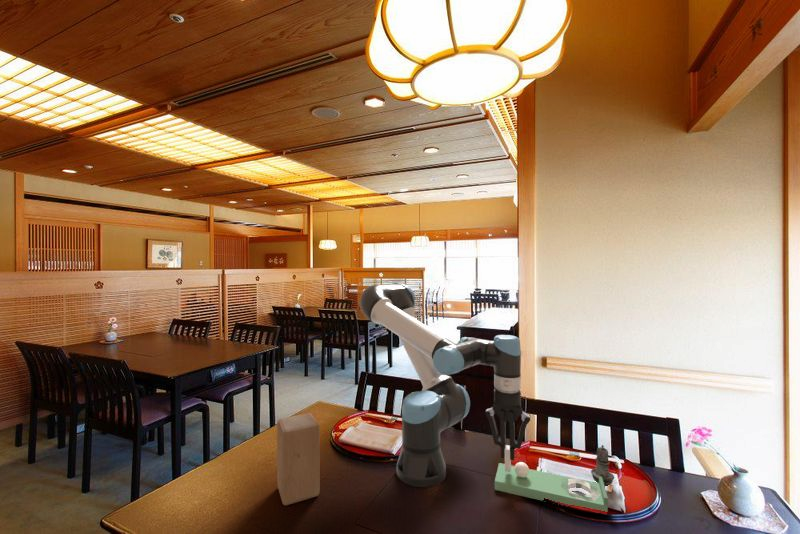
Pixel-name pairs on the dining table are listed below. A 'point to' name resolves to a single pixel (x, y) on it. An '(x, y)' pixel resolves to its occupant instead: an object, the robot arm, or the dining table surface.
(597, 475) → the dark grey figurine
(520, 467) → the ball
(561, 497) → the green flat block
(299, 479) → the wooden block
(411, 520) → the dining table surface
